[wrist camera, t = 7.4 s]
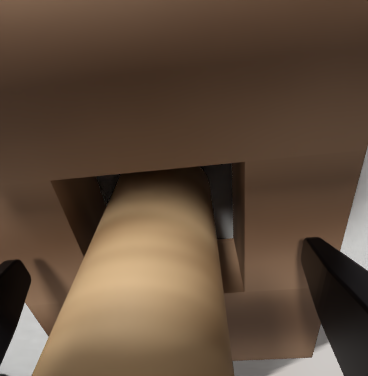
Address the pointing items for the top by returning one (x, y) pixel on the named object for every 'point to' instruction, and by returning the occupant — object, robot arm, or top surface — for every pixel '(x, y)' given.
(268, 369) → the top surface
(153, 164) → the socket block
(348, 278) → the robot arm
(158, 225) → the peg
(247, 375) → the top surface
